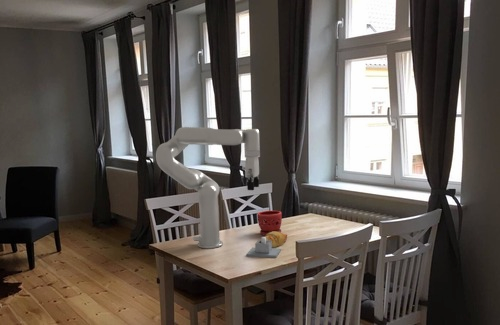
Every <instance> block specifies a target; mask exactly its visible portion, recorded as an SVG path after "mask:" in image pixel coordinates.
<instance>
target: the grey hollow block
mask: <svg viewBox="0 0 500 325" xmlns="http://www.w3.org/2000/svg"><path fill="white" fill-rule="evenodd" d="M254 245H255V246H254V248H255V253H264V254H269V253H270V252H271V250H272V248H273V247H272V240H266V243H261V239H258V240H257V241H256V242H255V244H254Z"/></svg>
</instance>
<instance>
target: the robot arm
mask: <svg viewBox="0 0 500 325" xmlns="http://www.w3.org/2000/svg"><path fill="white" fill-rule="evenodd" d="M240 144H244V146H243V148H244V158H245V164H244V165H245V166H244V170H245V171H244V176H245V178H246V179H247V180H246V182H247V183H246V185H247V186H246V188H247V191H254V190H255V188H259V187H260V178H259V175H260V165H259V164H260V163H259V158H260V157H261V150H260V148H261V147H260V131H259V129H258V128H250V129H249V128H247V129H239V128H235V129H224V128H223V129H221V128H220V129H219V128H212V127H201V126H200V127H195V126H193V127H191V126H190V127H189V126H184V127H183V126H182V127H180V128H177V130H176V132H175V135H173V136H172V138H170V139H169V140H168V141H166V142H163V143H161V144H159V146H158V147H157V148H156V151H155V160H156V163H157V165H158V167H159V168H160V170H162V171H163V172H164V173H165V174H166V175H168V176H169V177H171V179H173V180H175V181H176V182H177V183H179V184H180V185H181V186H183V187H184V188H186V189H187V190H195V191H196V192H198V193H197V201H198V207H199V208H198V209H199V210H198V211H199V225H200V226H199V228H200V229H199V230H200V232H199V233H200V235H199V236H196V235H195V236H194V235H193V238H192V239H193V242H198V243H197V246H198V247H199V248H202V249H215V248H219V247H221V246H223V244H224V242H223V240H220V213H219V200H218V196H219V193H220V190H221V189H220V186H219V184H218V183H217V182H216V181H215V180H214V179H212V178H211V177H210V176H207V175H206V174H205V173H203V172H202V171H200V170H199V169H196V168H189V167H187V166H186V165H184V164H183V163H181V162H180V161H178V160H176V159H175V158H176V157H177V156H179V154H180V153H181V152H182V151H183V150H185V149H186V148H187V147H188V146H189V145H192V146H193V145H198V146H199V145H200V146H201V145H202V146H215V145H217V146H239V145H240Z"/></svg>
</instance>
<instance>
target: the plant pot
mask: <svg viewBox="0 0 500 325" xmlns="http://www.w3.org/2000/svg"><path fill="white" fill-rule="evenodd" d="M282 214H283V213H282V211H280V210H279V211H278V210H265V211H259V212H257V214H256V215H257V223H258V226H259V229H260V230H259V233H260V234H261V235H263V237H265V236H266V234H268V233H270V232H272V231H277V232H280V233H282V230H281V227H282V219H283V218H282Z"/></svg>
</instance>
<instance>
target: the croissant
mask: <svg viewBox="0 0 500 325" xmlns="http://www.w3.org/2000/svg"><path fill="white" fill-rule="evenodd" d="M264 237H266V240H272V248H277V247H279V246H282V245H283V244H284V243H285V242H286V240H287V239H288V234H285V233H282V232H281V233H280V232H277V231H272V232H270V233H268V234H266V236H264Z"/></svg>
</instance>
